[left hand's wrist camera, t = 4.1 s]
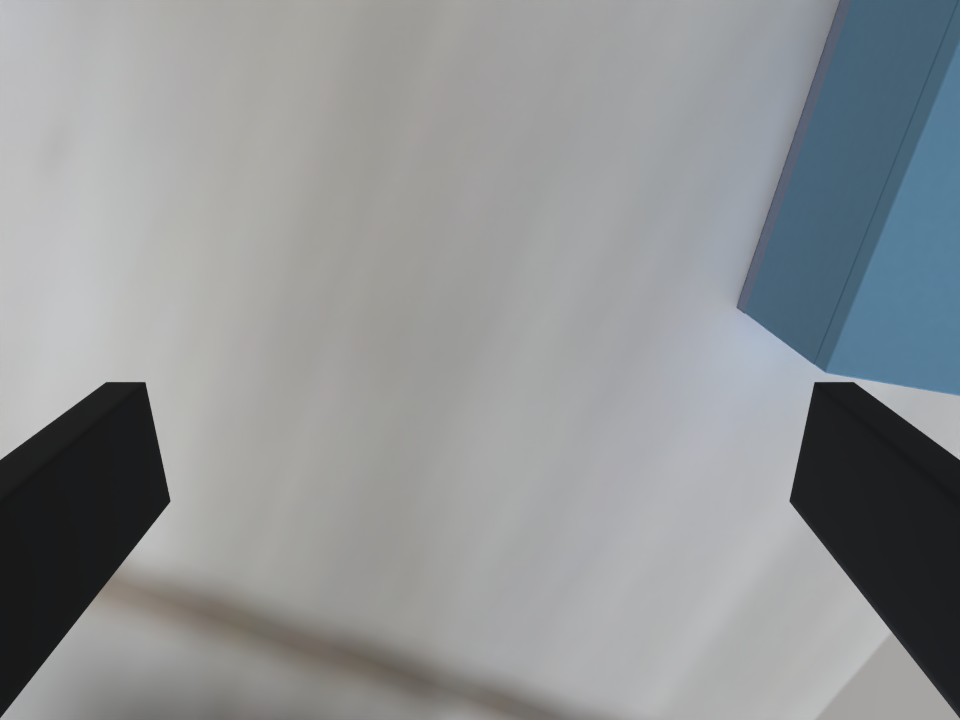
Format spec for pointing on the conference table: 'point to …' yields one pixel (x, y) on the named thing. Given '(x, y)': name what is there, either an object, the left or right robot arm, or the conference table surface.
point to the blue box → (872, 204)
